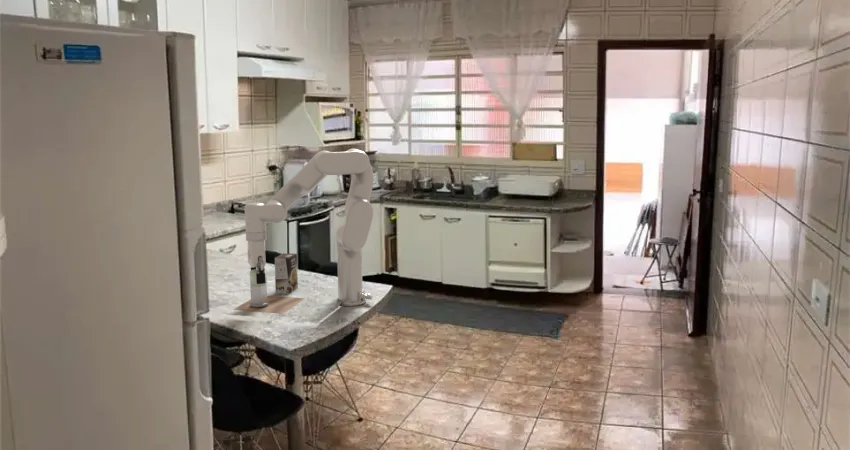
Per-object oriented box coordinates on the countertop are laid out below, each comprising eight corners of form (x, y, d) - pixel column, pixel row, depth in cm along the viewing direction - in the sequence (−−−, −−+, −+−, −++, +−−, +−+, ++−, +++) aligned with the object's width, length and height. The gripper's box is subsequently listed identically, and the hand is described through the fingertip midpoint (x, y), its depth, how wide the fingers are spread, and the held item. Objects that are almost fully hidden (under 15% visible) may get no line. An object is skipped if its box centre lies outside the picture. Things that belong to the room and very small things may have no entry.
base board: (305, 302, 272) (305, 298, 271) (282, 317, 253) (282, 313, 252) (258, 298, 276) (258, 294, 276) (233, 313, 257) (233, 309, 257)
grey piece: (271, 303, 265) (270, 283, 263) (263, 308, 258) (262, 288, 257) (255, 302, 266) (254, 282, 265) (246, 307, 260) (245, 286, 258)
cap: (269, 283, 263) (268, 268, 262) (262, 287, 257) (261, 272, 256) (255, 282, 264) (254, 267, 263) (247, 286, 259) (246, 271, 257)
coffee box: (290, 297, 278) (288, 258, 275) (275, 296, 279) (273, 257, 276) (298, 291, 287) (297, 253, 284) (284, 290, 288) (282, 252, 285)
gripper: (241, 232, 263) (243, 276, 266) (251, 241, 248) (253, 287, 251) (261, 231, 266) (263, 274, 270) (271, 239, 251) (273, 284, 254)
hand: (258, 280), depth 260 cm, fingers open, 9 cm apart
